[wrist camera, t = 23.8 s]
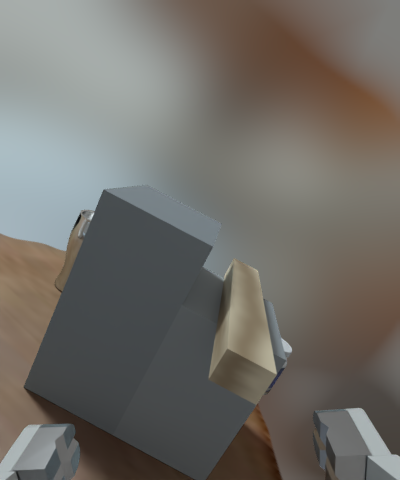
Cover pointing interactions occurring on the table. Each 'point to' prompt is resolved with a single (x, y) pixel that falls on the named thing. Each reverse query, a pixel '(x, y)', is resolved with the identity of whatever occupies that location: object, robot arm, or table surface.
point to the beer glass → (74, 246)
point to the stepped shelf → (145, 333)
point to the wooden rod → (242, 336)
